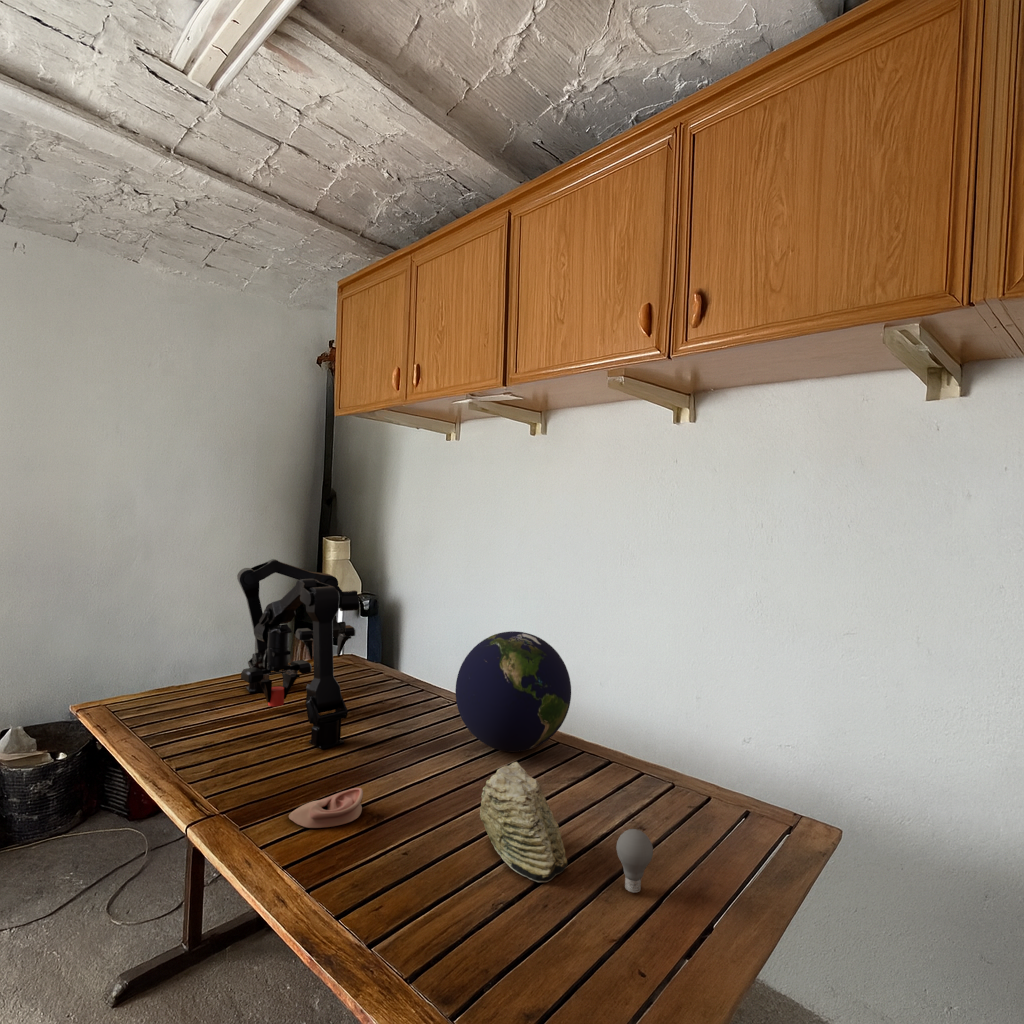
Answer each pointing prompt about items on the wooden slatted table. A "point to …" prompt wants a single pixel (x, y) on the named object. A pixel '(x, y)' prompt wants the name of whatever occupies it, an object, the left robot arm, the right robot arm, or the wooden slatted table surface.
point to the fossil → (522, 824)
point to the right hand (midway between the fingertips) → (276, 700)
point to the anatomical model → (330, 810)
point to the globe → (513, 691)
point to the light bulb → (634, 857)
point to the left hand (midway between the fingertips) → (325, 657)
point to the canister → (277, 696)
